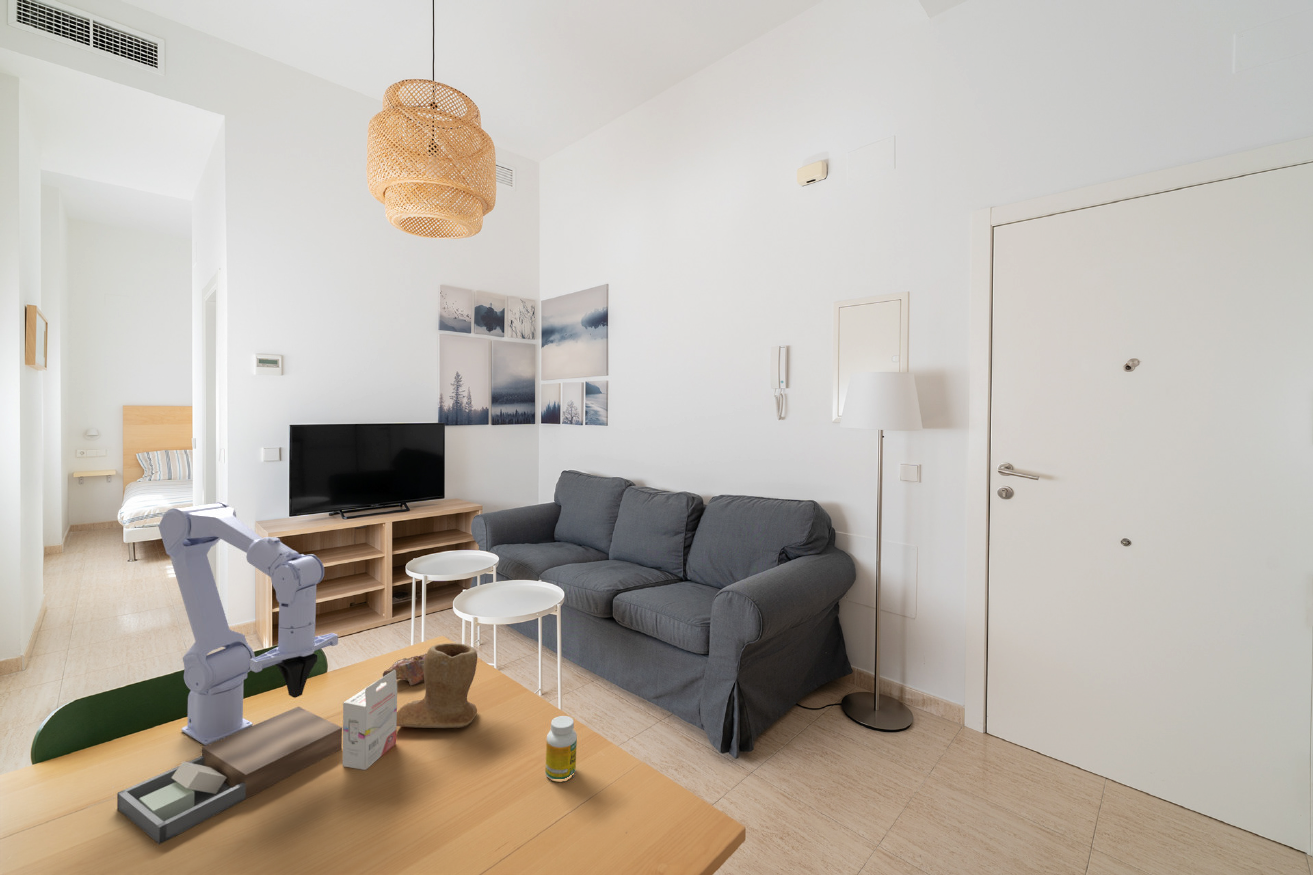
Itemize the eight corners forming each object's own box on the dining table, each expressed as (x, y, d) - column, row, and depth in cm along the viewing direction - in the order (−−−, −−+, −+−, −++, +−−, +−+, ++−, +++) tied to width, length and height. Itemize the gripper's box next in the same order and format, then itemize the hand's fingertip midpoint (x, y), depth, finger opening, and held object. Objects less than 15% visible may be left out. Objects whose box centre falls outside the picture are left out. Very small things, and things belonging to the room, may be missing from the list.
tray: (117, 808, 86) (117, 792, 86) (201, 769, 95) (202, 755, 95) (159, 844, 79) (159, 827, 79) (245, 798, 89) (245, 783, 89)
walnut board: (201, 769, 95) (202, 747, 95) (297, 726, 110) (298, 706, 109) (245, 798, 89) (245, 774, 89) (341, 748, 103) (342, 727, 103)
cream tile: (171, 777, 88) (183, 761, 89) (199, 783, 92) (210, 767, 93) (187, 788, 86) (198, 771, 87) (215, 793, 89) (226, 777, 91)
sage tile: (180, 780, 89) (179, 794, 89) (139, 798, 84) (139, 813, 84) (194, 791, 86) (194, 806, 86) (153, 810, 82) (153, 826, 82)
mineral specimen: (411, 688, 123) (399, 659, 124) (388, 699, 126) (376, 671, 126) (447, 665, 135) (436, 639, 136) (425, 676, 137) (414, 651, 138)
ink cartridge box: (374, 739, 106) (376, 664, 106) (396, 743, 105) (399, 668, 105) (340, 766, 98) (342, 685, 97) (364, 771, 97) (366, 689, 96)
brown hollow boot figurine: (484, 705, 121) (486, 637, 120) (467, 736, 109) (470, 661, 108) (413, 703, 120) (416, 635, 120) (389, 734, 108) (391, 659, 108)
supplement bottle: (547, 763, 101) (549, 712, 101) (577, 764, 102) (579, 713, 101) (542, 783, 96) (544, 729, 96) (573, 783, 96) (575, 730, 96)
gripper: (265, 640, 94) (264, 719, 94) (348, 615, 107) (346, 684, 107) (244, 631, 97) (242, 707, 98) (326, 608, 110) (324, 675, 110)
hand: (295, 694), depth 103 cm, fingers closed
